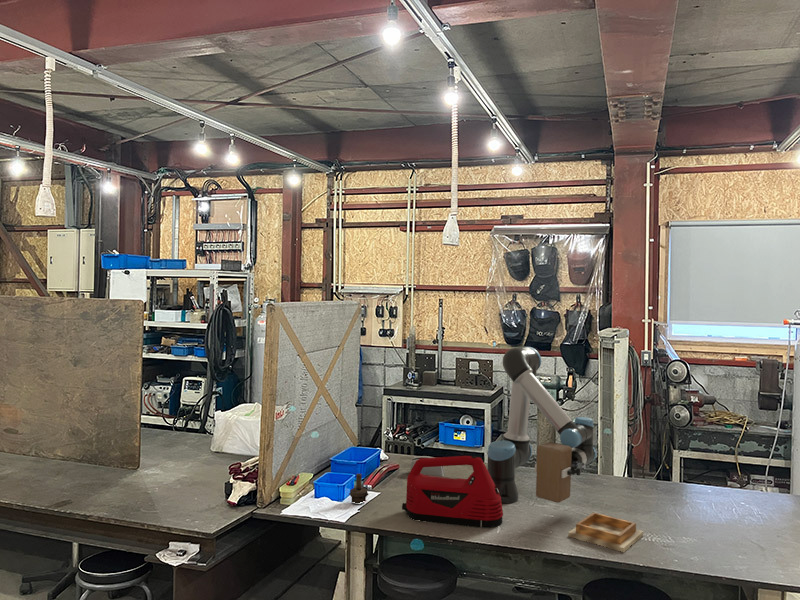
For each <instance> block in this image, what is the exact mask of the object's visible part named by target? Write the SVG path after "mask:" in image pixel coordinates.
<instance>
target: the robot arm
mask: <svg viewBox="0 0 800 600" xmlns="http://www.w3.org/2000/svg"><path fill="white" fill-rule="evenodd" d="M540 354H541V353H539V351H538V350H536V349H535V348H534V347H531V346H519V347H512V348H510V349H508V350H507V351H506V352H505V353H504V354H503V357H502V367H503V369H504V371H505V373H506V375H507V376H508V377H509V379H510V381H512V383H511V393H510V403H509V414H508V423H507V431H506V432H505V433H504V434H503V439H502V440H501V439H500V440H495V441H493V442H490V444H488V447H487V470H488V472H489V474H490V476H491V478H492V480H493V482H494V484H495V486H496V488H498V490H499V495H500V497H501V502H502V504H511V503H515V502H517V501H518V500H519V491H518V487H517V484H516V481H515V478H516V477H515V476H516V474H515V473H516V471H515V470H516V469H517V468H519V467H522V466H524V465H526V464H527V463H528V462H529V461H530V459H531V457H532V454H533V449H532V448H533V447H532V445H531V444H530V441H531V439H530V437H529V435H528V427H529V426H528V424H529V414H530V403H531V402H532V403H533V404H534V405H535V406H536V408H537V409H538V410H539V411H540V412H541V414H542V415H543V416H544V417H545V418H546V420H547V421H548V423H549V424H550V425H551V426H552V428H553V429H554V430H555V431H556V432H557V433H558V434H559V440H560V442H561V443H560V444H562V445H567V446H570V447H571V448H572V457H571V467H568V468H566V469H564V470H562V477H561V478H565V477H567V476H569V475H571V476H572V475H576V476H580V475H581V473H582V471H583V470H585V466H586V465H588V464H591V463H592V462H593V461H595V459H596V458H597V450H596V448H595V447H594V428H595V426H594V420H593V418H591V417H587V416H577V417H575V418H574V422H573V420H572V419H571V418H570V416H568V414H567V413H566V411H565V410H564V409H563V408H562V407H561V406H560V405H559V403H558V402H557V401H556V400H555V398H554V397H553V396H552V395H551V393H550V392H549V391H548V390H547V388H545V386H544V385H543V384H542V383H541V381H540V380H539V379H538V378H537V371H538V370H539V369H540V368H541V366H542V356H541V355H540ZM534 472H536V473H537V463H535V464H534Z"/></svg>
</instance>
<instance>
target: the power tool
mask: <svg viewBox="0 0 800 600" xmlns="http://www.w3.org/2000/svg"><path fill="white" fill-rule="evenodd" d="M438 466H443V467H448V466H449V467H452V466H454V467H455V466H456V467H457V466H471V467H472V470H473V472H471V474H470V475H469V476H468V478H458V477H450V476H433V475H423V474H421V473H420V472H421V470H422V469H423V467H438ZM405 499H406V501H405V502H403V503H402V504H401V509H402V510H403V511H405V512H406V515H408V516H409V517H410V518H409V517H408V516H407V517H408V518H409V519H411V518H412V519H411V520H413V519H414V520H413V521H415V520H420V521H419V522H423V521H426V522H425V523H433V524H443V525H452V526H460V527H461V526H462V527H470V528H472V527H473V528H481V529H483V528H484V529H490V528H495V527H499V526H500V525H501V524H503V516H504V510H503V503H502V502H501V497H500V495H499V490H498V488H496V486H495V484H494V482H493V480H492V478H491V476H490V474H489V472H488V467H487V466H486V464H485V463H484V460H483V459H482V457H480V456H476V455H458V456H457V455H456V456H442V457H441V456H437V457H434V458H420V459H419V460H417V461H416V462H415V464H414V466H413V468H412V469H411V471H409V473H408V475H407V477H406V497H405Z"/></svg>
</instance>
